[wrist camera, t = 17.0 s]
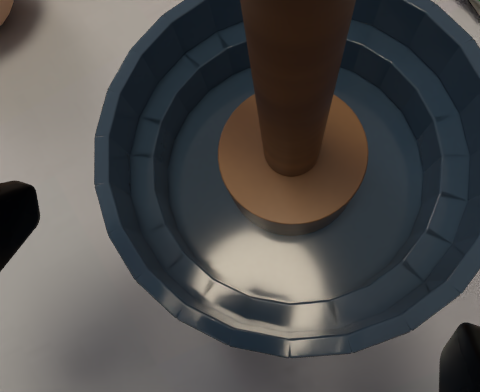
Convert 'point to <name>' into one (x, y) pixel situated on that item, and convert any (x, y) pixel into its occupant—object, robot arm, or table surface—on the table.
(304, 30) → the wooden knob stand
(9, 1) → the egg
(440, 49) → the bowl
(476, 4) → the dish towel
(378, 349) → the table surface
